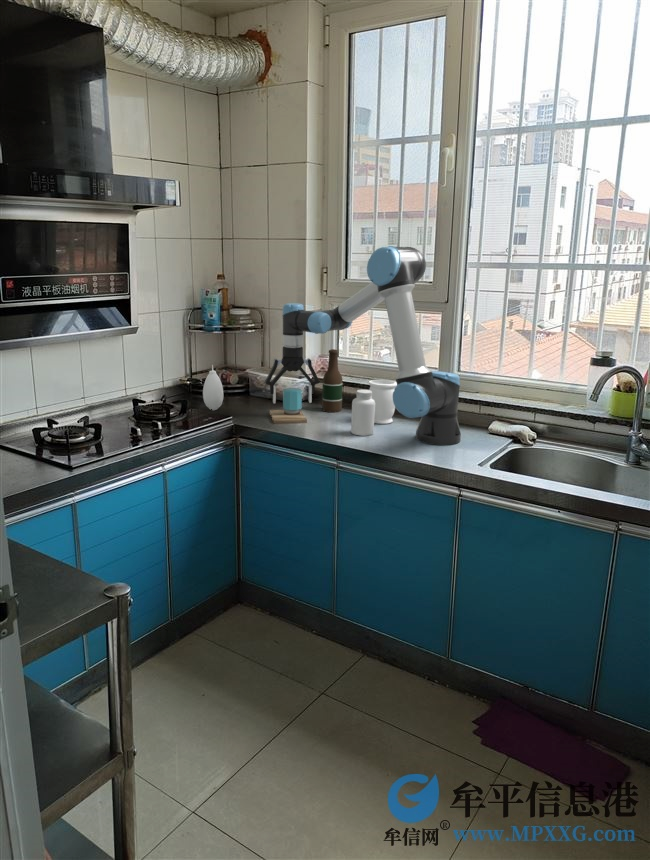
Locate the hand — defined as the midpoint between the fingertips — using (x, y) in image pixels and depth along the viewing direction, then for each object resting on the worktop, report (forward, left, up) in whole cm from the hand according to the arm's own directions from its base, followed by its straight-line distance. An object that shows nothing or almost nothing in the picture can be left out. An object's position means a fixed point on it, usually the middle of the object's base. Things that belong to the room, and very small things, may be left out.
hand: (292, 402), depth 251 cm
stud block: (-2, +2, -5) cm, 6 cm away
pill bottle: (-26, -21, -6) cm, 34 cm away
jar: (-11, -32, -6) cm, 34 cm away
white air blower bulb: (+13, +29, -6) cm, 32 cm away
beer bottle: (+8, -17, -6) cm, 20 cm away
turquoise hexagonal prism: (0, 0, -2) cm, 2 cm away
